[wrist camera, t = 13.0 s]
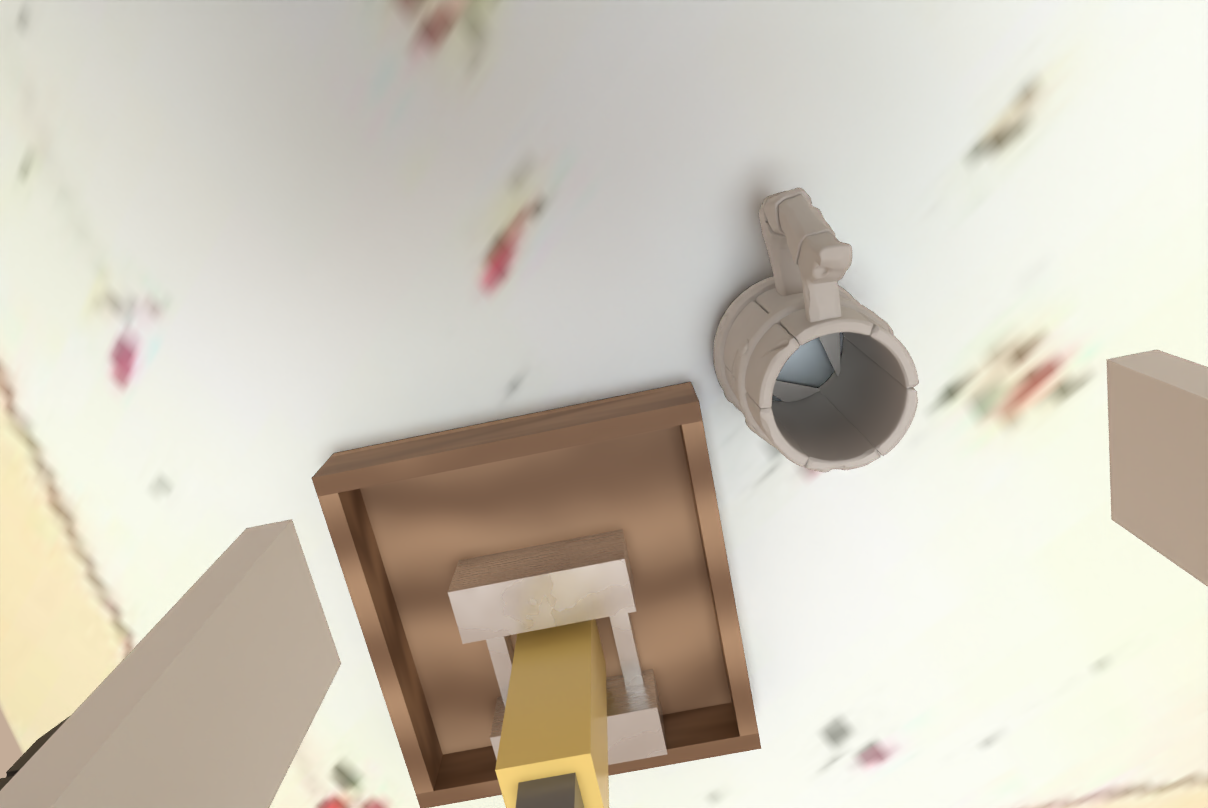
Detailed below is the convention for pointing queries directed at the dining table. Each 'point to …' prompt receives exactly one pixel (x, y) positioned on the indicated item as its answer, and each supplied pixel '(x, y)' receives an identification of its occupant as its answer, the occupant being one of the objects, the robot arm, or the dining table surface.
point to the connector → (556, 721)
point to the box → (529, 518)
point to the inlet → (559, 597)
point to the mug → (796, 316)
